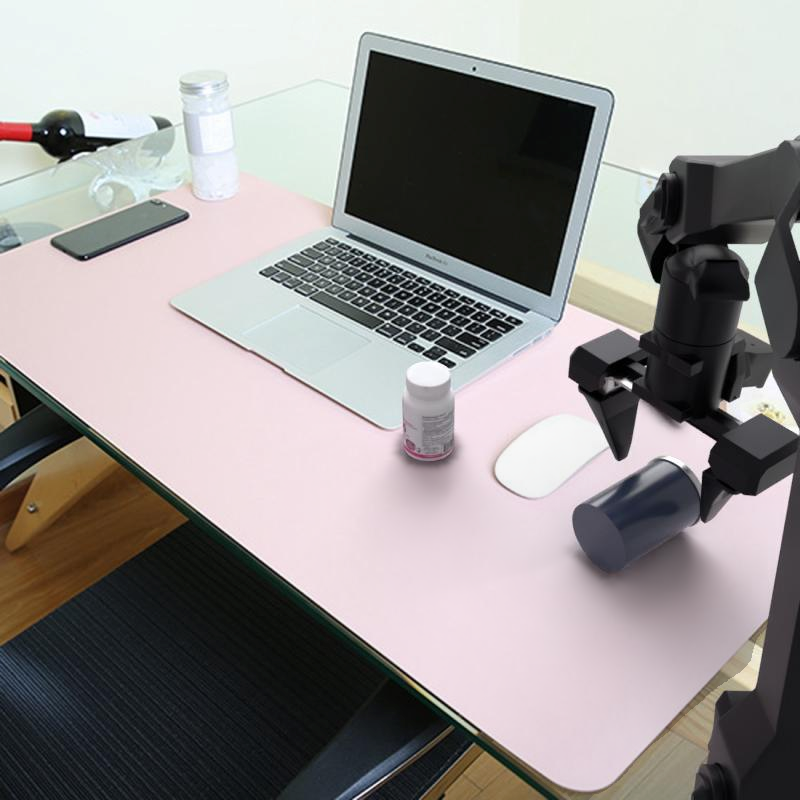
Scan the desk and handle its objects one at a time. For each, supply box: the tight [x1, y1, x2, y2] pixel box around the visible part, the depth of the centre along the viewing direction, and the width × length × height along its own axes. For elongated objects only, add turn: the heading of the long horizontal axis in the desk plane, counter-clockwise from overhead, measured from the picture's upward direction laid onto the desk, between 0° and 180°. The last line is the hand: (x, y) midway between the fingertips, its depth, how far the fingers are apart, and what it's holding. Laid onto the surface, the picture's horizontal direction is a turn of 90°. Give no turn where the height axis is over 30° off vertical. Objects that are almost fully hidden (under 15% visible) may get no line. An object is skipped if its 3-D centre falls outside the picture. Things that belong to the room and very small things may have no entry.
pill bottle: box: [401, 360, 456, 462], centre depth 87 cm, size 5×5×8 cm
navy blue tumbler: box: [571, 455, 702, 573], centre depth 77 cm, size 6×6×9 cm
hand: (662, 488), depth 78 cm, fingers open, 9 cm apart
